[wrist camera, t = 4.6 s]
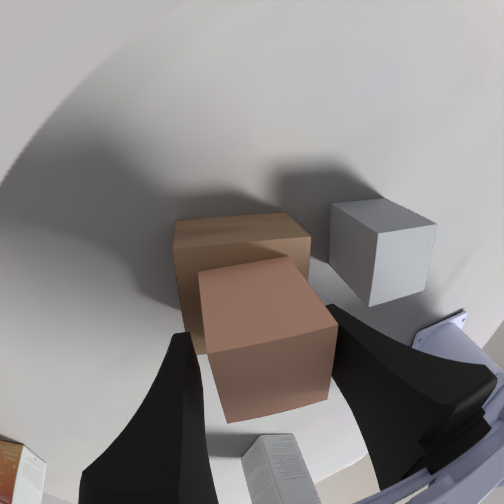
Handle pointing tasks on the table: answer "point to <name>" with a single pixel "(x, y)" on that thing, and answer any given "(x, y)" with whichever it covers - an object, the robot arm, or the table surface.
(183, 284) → the walnut block
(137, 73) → the table surface
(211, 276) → the terracotta block
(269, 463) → the skincare box
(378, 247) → the slate block
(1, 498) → the small box
